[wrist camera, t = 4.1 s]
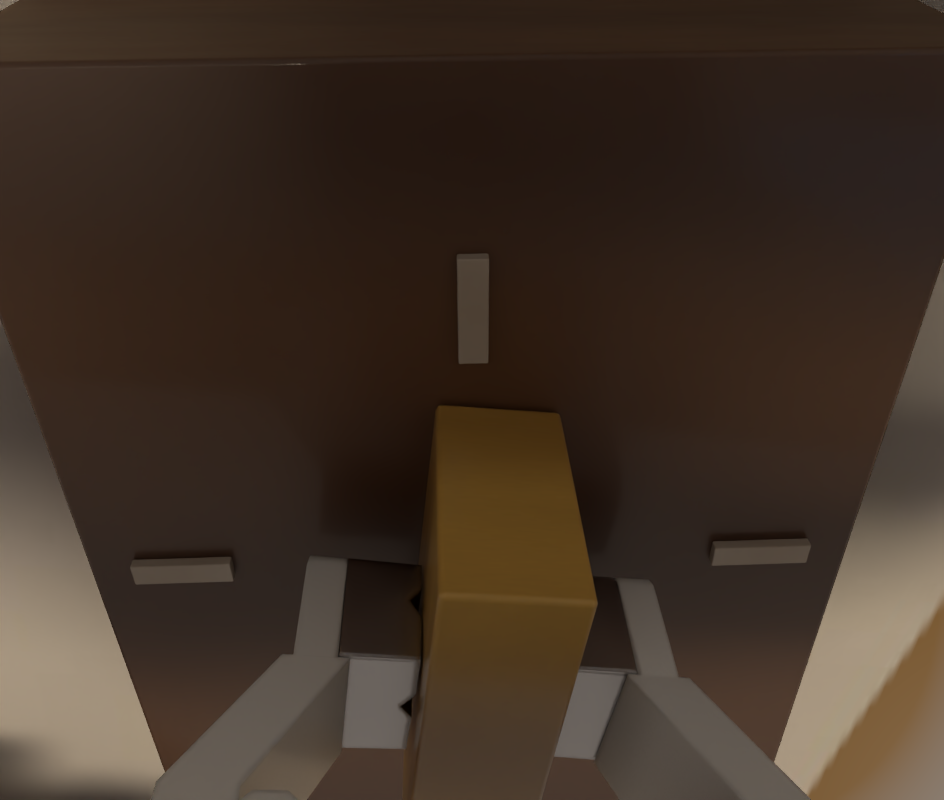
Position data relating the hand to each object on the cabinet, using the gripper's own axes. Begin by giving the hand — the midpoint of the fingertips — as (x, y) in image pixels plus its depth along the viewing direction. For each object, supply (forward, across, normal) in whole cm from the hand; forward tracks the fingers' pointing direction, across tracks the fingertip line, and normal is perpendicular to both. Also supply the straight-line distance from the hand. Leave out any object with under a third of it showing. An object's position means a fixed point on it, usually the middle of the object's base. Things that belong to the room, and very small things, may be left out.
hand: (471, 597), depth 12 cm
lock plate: (+4, 0, 0) cm, 4 cm away
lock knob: (+1, 0, 0) cm, 1 cm away
